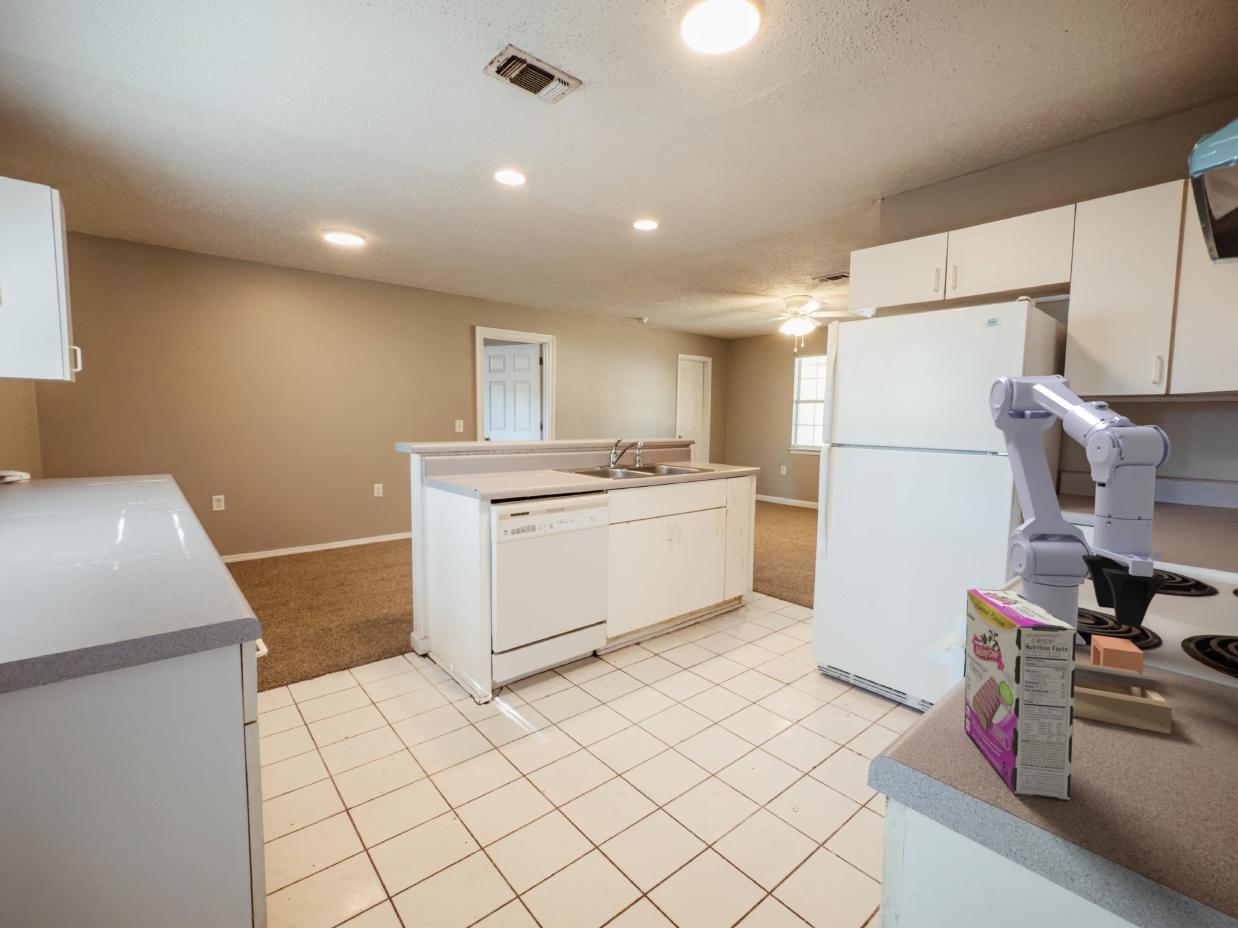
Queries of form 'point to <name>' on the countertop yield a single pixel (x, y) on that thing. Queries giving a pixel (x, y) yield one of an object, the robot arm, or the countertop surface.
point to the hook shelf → (1119, 698)
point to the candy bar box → (1020, 691)
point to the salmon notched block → (1116, 653)
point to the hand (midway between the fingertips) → (1117, 615)
